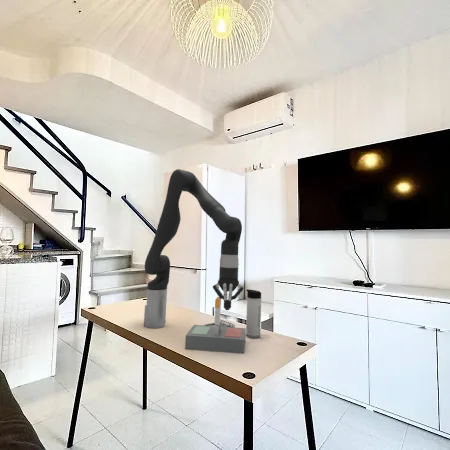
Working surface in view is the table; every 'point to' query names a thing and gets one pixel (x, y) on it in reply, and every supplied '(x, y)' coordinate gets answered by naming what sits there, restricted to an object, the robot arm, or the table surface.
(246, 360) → the table surface
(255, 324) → the travel mug
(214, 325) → the graphics card
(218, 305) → the breaker lever
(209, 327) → the breaker base
